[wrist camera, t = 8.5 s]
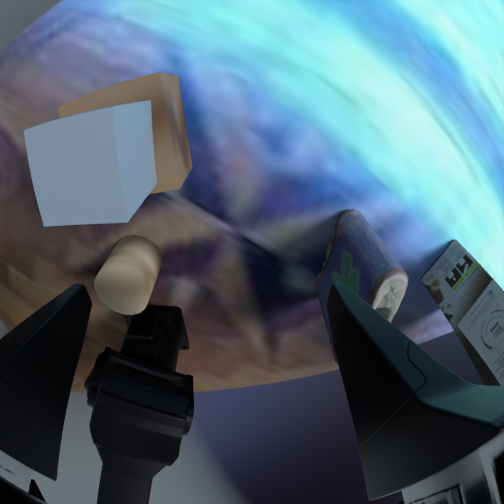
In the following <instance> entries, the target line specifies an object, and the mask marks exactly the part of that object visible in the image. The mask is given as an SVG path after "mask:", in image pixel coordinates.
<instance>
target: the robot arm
mask: <svg viewBox="0 0 504 504" xmlns="http://www.w3.org/2000/svg"><path fill="white" fill-rule="evenodd" d="M91 308H92V302H91V299H90V296H89V294H88V292H87V289H86V287H85V286H84V285H83V284H74V285H73V286H71V287H70V288H68V289H67V290H65V291H64V292H63V293H61V294H60V295H58V296H57V297H55V298H54V299H53V300H51V301H50V302H48V303H47V304H46V305H44V306H43V307H42V308H40V309H39V310H38V311H36V312H35V313H33V314H32V315H31V316H29V317H28V318H27V319H26V320H24V321H23V322H22V323H20V324H19V325H18V326H16V327H15V328H14V329H13V330H12V331H10V332H9V333H7V334H6V335H5V336H4V337H2V338H1V339H0V504H48V503H46V502H45V500H44V498H43V496H42V494H41V492H40V490H39V488H38V486H37V484H36V482H35V480H33V479H31V476H32V472H33V471H35V472H38V473H39V474H41V475H43V476H45V477H48V478H50V479H52V480H54V481H56V479H57V470H58V461H59V452H60V445H61V438H62V431H63V425H64V420H65V414H66V410H67V405H68V399H69V396H70V391H71V387H72V383H73V379H74V375H75V371H76V367H77V364H78V360H79V356H80V353H81V350H82V346H83V343H84V339H85V335H86V330H87V325H88V320H89V316H90V312H91ZM175 311H176V312H175ZM327 311H328V317H329V323H330V329H331V336H332V342H333V346H334V350H335V354H336V358H337V361H338V365H339V369H340V372H341V376H342V380H343V384H344V388H345V391H346V396H347V399H348V403H349V408H350V412H351V416H352V420H353V424H354V428H355V433H356V438H357V442H358V446H359V452H360V457H361V461H362V466H363V471H364V476H365V481H366V487H367V492H368V497H369V501H371V500H374V499H378V498H381V497H384V496H387V495H390V494H393V493H396V492H398V491H401V490H402V493H403V498H404V500H401V501H399V502H398V504H504V386H486V385H475V384H472V383H469V382H467V381H465V380H463V379H462V378H460V377H459V376H458V375H456V374H455V373H453V372H452V371H451V370H449V369H448V368H447V367H445V366H444V365H442V364H441V363H440V362H438V361H437V360H436V359H434V358H433V357H432V356H430V355H429V354H428V353H426V352H425V351H424V350H423V349H421V348H420V347H419V346H418V345H417V344H415V343H414V342H413V341H412V340H411V339H409V338H408V337H407V336H406V335H405V334H404V333H402V332H401V331H400V330H399V329H398V328H396V327H395V326H394V325H393V324H392V323H390V322H389V321H388V320H387V319H386V318H384V317H383V316H382V315H381V314H380V313H378V312H377V311H376V310H375V309H374V308H372V307H371V306H370V305H369V304H368V303H366V302H365V301H364V300H363V299H361V298H360V297H359V296H358V295H356V294H355V293H354V292H353V291H352V290H350V289H349V288H348V287H347V286H345V285H344V284H332V285H331V287H330V291H329V296H328V300H327ZM123 315H124V317H125V320H126V322H127V325H128V329H127V332H126V335H125V339H124V342H123V345H122V348H121V351H120V352H117V351H115V350H112V348H110V347H107V346H106V348H105V351H104V352H102V353H100V354H98V357H97V359H96V362H95V365H94V367H93V369H92V371H91V372H90V374H89V376H88V377H87V379H86V381H85V384H84V387H85V389H86V391H87V398H88V400H87V405H88V406H90V407H92V408H93V411H92V416H91V421H90V432H91V436H92V439H93V442H94V444H95V445H96V447H97V450H98V452H99V455H100V457H101V460H102V462H103V465H102V471H101V477H100V484H99V491H98V498H97V504H148V503H149V497H150V490H151V484H152V479H153V477H154V476H155V475H156V474H157V473H158V472H159V471H160V470H161V469H162V468H164V467H165V466H166V465H167V466H171V465H172V464H173V463H174V462H175V460H176V459H177V458H178V456H179V449H180V444H181V440H182V435H183V436H185V435H187V433H188V432H189V429H190V427H191V423H192V419H193V414H194V392H193V376H191V375H188V374H187V375H185V374H181V373H178V372H175V371H176V365H177V359H178V353H179V350H188V349H189V341H188V337H187V333H186V329H185V324H184V320H183V315H182V311H181V309H180V308H178V307H162V306H146V308H145V309H144V310H143V311H142V312H140V313H138V314H134V315H125V314H123Z"/></svg>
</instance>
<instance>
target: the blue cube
mask: <svg viewBox="0 0 504 504" xmlns="http://www.w3.org/2000/svg"><path fill="white" fill-rule="evenodd" d="M24 135H25V142H26V149H27V155H28V161H29V167H30V172H31V177H32V182H33V186H34V190H35V195H36V199H37V203H38V206H39V210H40V214H41V217H42V221H43V224H44V227H45V226H62V225H80V224H102V223H128V221H129V220H130V218H131V217H132V216H133V214H134V213H135V212H136V210H137V209H138V208H139V206H140V205H141V204H142V202H143V201H144V200H145V199H146V197H147V196H148V195H149V193H150V192H151V191H152V190H153V188H154V187H155V186H156V185H157V179H156V169H155V158H154V146H153V131H152V113H151V100H147V101H140V102H133V103H127V104H121V105H115V106H110V107H105V108H100V109H95V110H90V111H86V112H82V113H77V114H74V115H70V116H66V117H63V118H59V119H56V120H53V121H50V122H46V123H43V124H40V125H37V126H34V127H32V128H29V129H26V130H24Z"/></svg>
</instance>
